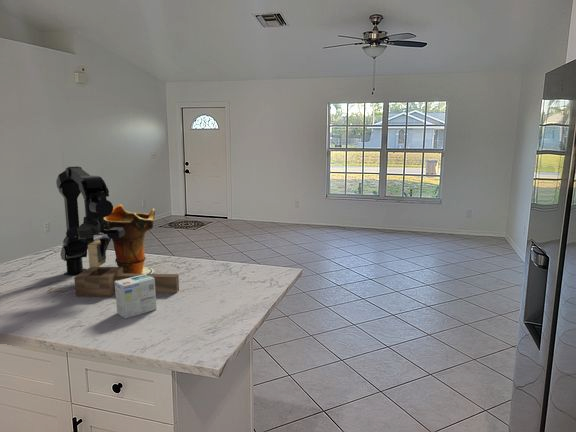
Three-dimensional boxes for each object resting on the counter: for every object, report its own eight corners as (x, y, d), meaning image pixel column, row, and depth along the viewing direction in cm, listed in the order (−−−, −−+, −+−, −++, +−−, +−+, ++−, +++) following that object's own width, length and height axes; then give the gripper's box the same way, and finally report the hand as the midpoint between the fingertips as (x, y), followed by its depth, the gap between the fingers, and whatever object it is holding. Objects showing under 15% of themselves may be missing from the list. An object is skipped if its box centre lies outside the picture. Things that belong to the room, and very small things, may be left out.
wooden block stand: (92, 284, 159) (91, 266, 158) (182, 285, 158) (181, 267, 157) (76, 296, 147) (74, 277, 146) (173, 297, 146) (172, 278, 145)
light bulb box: (147, 304, 141) (145, 272, 139) (157, 309, 136) (155, 277, 134) (115, 313, 133) (113, 280, 131) (125, 319, 129) (122, 285, 127)
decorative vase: (147, 282, 160) (139, 209, 156) (92, 282, 164) (82, 211, 159) (171, 266, 181) (164, 201, 176) (121, 266, 184) (113, 203, 180)
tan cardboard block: (97, 261, 154) (95, 240, 153) (107, 262, 154) (105, 240, 153) (89, 266, 148) (87, 244, 147) (99, 267, 148) (97, 244, 147)
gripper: (54, 217, 140) (59, 262, 143) (110, 217, 140) (113, 263, 142) (72, 211, 151) (76, 253, 154) (124, 211, 151) (127, 254, 153)
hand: (97, 256), depth 151 cm, fingers closed on tan cardboard block, 3 cm apart
